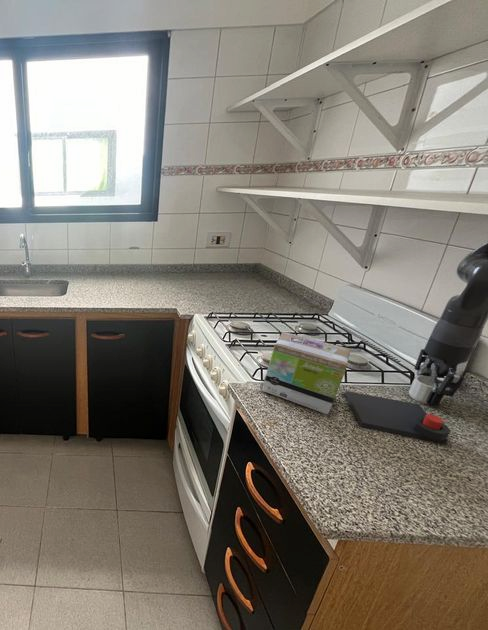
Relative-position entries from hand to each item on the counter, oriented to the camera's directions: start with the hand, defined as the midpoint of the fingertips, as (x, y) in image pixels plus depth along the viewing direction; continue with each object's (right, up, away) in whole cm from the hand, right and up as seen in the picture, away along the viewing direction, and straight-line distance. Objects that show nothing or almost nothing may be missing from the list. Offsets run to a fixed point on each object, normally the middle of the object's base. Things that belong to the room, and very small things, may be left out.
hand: (424, 396), depth 89 cm
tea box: (-32, 0, +2) cm, 32 cm away
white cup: (0, -1, 0) cm, 1 cm away
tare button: (-12, -4, -13) cm, 18 cm away
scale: (-15, -4, -6) cm, 16 cm away
